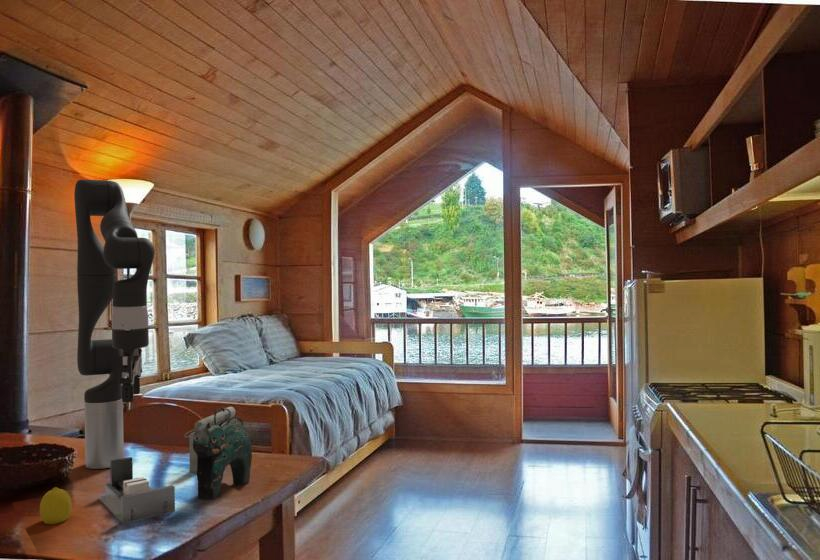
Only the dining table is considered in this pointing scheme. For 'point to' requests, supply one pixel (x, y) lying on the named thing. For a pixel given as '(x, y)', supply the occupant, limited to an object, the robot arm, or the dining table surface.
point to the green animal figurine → (221, 455)
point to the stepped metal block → (120, 472)
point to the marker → (135, 486)
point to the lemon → (55, 506)
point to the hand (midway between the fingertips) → (131, 398)
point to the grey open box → (139, 503)
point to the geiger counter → (220, 418)
